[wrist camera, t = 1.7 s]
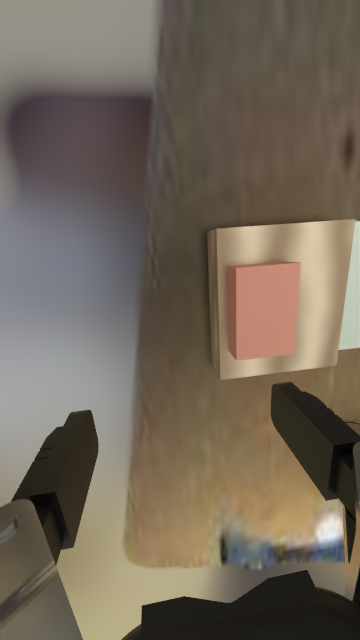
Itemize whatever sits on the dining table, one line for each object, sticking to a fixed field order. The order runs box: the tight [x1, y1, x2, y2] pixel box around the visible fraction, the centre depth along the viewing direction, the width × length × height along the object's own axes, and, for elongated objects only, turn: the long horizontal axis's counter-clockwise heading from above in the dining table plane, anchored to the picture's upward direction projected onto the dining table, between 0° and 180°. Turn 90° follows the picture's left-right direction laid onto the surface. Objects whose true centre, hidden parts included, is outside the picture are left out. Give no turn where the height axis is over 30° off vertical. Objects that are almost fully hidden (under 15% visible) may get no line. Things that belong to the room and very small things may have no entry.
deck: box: [207, 219, 356, 380], centre depth 27 cm, size 14×16×4 cm
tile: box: [228, 261, 301, 361], centre depth 24 cm, size 6×9×2 cm, turn 4°
